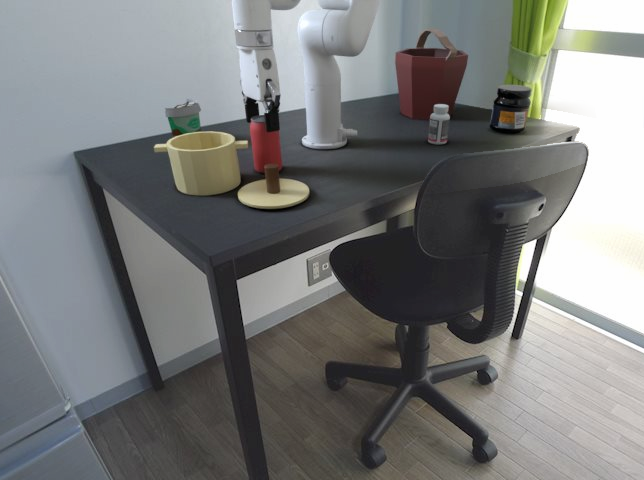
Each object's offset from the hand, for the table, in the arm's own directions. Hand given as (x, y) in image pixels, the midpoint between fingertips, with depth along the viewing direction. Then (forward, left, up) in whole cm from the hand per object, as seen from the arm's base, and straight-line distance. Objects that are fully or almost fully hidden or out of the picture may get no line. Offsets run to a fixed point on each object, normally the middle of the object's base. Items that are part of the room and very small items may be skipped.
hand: (262, 126), depth 102 cm
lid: (-4, +16, -10) cm, 19 cm away
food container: (+25, -22, -11) cm, 35 cm away
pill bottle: (-44, -24, -11) cm, 52 cm away
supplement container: (-67, -37, -11) cm, 78 cm away
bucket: (-44, -56, -11) cm, 72 cm away
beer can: (0, 0, -11) cm, 11 cm away
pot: (+12, +9, -10) cm, 18 cm away
